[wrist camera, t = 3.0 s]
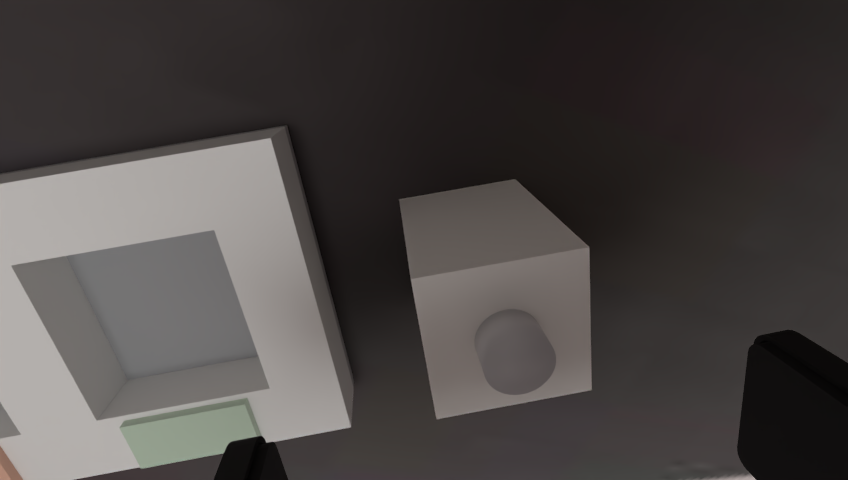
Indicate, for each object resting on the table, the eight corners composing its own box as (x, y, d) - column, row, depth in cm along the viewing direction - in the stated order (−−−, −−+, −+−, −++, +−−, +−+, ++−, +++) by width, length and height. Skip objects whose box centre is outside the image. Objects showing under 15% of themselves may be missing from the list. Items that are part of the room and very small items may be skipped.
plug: (515, 179, 16) (610, 266, 9) (523, 282, 17) (609, 418, 11) (398, 199, 16) (413, 302, 9) (417, 301, 17) (441, 450, 11)
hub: (287, 124, 14) (268, 139, 12) (354, 381, 18) (350, 433, 16) (-313, 225, 14) (-464, 264, 11) (-114, 468, 18) (-194, 536, 15)
